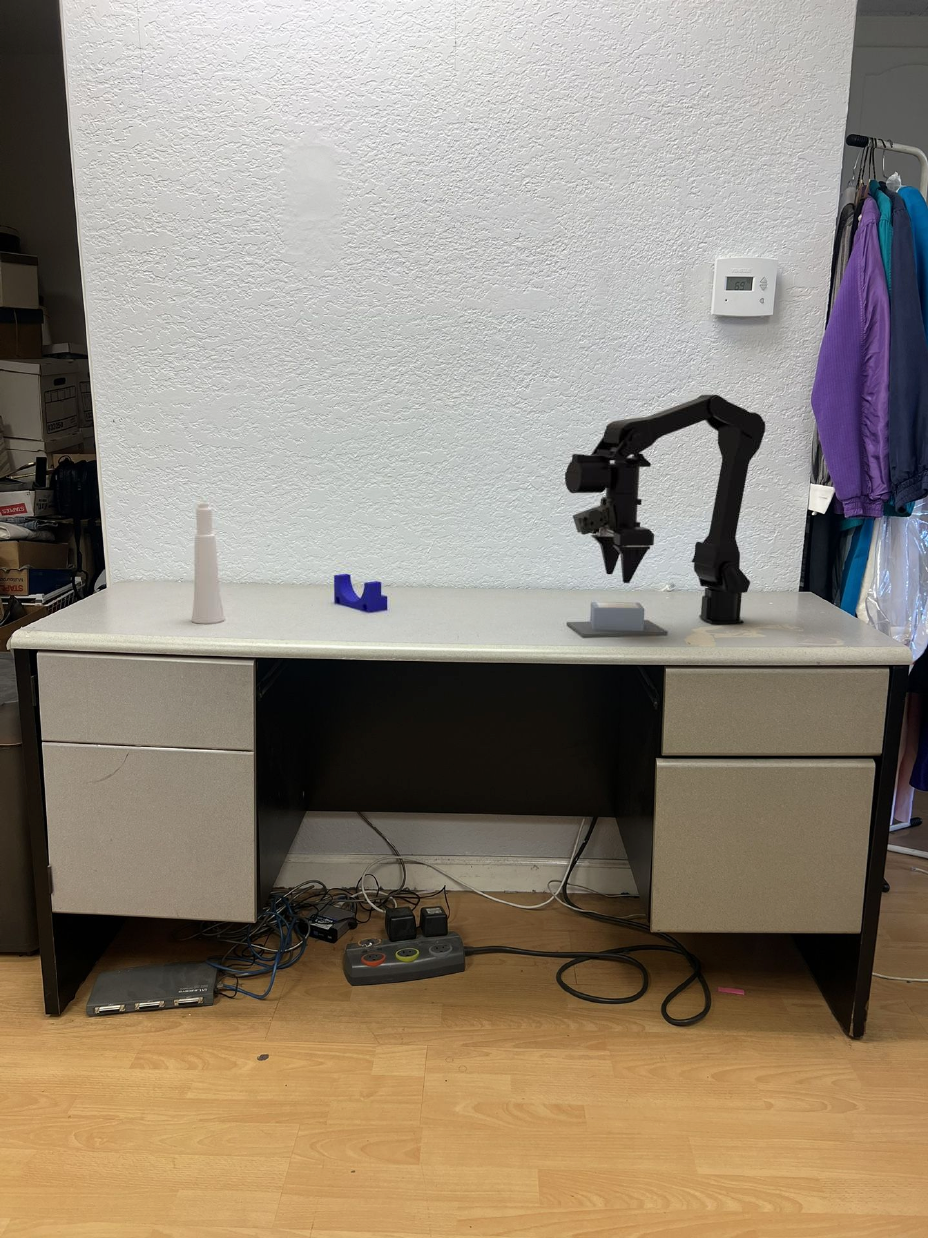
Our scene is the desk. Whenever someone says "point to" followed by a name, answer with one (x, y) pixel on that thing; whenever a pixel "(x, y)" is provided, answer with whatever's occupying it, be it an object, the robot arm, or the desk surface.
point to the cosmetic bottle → (206, 571)
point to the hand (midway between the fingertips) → (617, 578)
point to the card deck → (617, 616)
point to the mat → (587, 631)
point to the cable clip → (348, 597)
